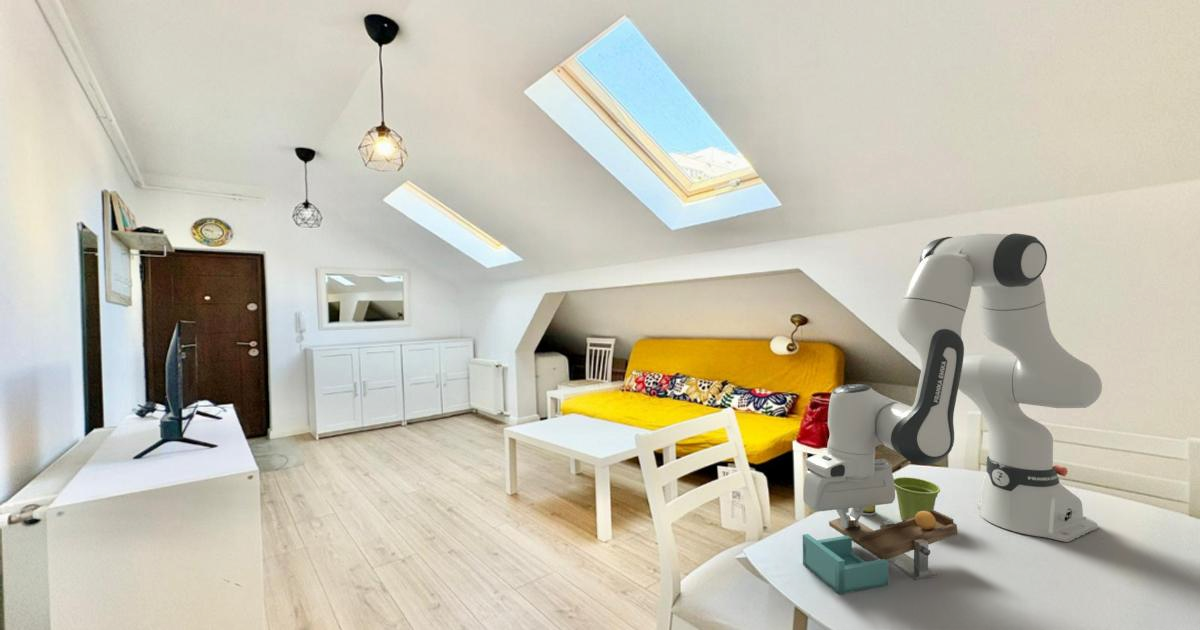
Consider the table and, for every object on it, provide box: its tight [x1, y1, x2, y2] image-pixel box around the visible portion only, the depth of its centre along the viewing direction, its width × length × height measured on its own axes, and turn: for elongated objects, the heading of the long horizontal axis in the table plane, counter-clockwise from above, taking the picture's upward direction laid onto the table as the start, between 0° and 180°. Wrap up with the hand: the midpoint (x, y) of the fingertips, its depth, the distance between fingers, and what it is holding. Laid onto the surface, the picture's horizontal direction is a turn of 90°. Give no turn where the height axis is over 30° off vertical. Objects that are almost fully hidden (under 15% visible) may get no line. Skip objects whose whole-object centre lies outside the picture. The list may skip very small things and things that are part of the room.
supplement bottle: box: [861, 505, 876, 517], centre depth 115 cm, size 5×5×8 cm
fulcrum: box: [879, 520, 938, 581], centre depth 93 cm, size 5×10×6 cm, turn 13°
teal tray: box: [802, 533, 890, 595], centre depth 90 cm, size 11×10×6 cm
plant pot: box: [894, 476, 941, 521], centre depth 110 cm, size 9×9×9 cm
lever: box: [828, 509, 959, 560], centre depth 97 cm, size 18×14×3 cm
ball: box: [915, 511, 936, 530], centre depth 94 cm, size 4×4×4 cm
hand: (849, 526), depth 98 cm, fingers closed
